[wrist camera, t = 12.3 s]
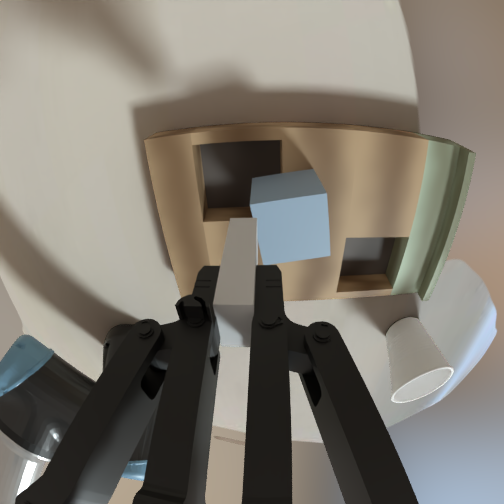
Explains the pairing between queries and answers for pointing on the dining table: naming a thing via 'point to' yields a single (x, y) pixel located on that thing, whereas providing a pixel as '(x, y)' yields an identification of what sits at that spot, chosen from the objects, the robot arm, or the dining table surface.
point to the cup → (414, 361)
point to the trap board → (338, 196)
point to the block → (290, 216)
